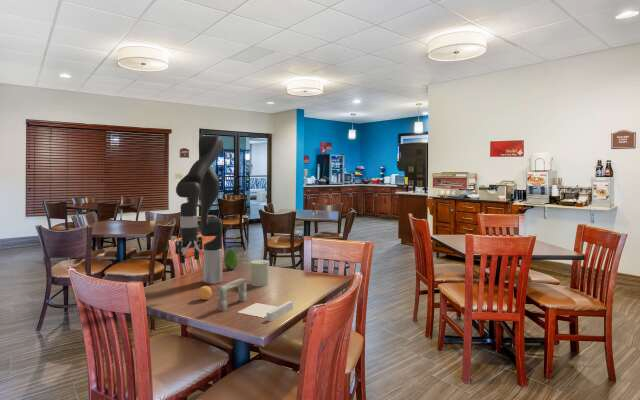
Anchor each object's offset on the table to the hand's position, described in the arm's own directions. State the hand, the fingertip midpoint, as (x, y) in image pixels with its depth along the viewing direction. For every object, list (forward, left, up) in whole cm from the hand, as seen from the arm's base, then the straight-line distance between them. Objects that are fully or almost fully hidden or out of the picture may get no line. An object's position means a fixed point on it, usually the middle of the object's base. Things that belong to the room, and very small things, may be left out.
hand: (189, 261), depth 177 cm
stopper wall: (+49, 0, -16) cm, 52 cm away
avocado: (-18, +50, -17) cm, 56 cm away
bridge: (+25, 0, -16) cm, 30 cm away
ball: (+9, 0, -13) cm, 16 cm away
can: (+16, +32, -17) cm, 39 cm away
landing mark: (+39, 0, -16) cm, 42 cm away
